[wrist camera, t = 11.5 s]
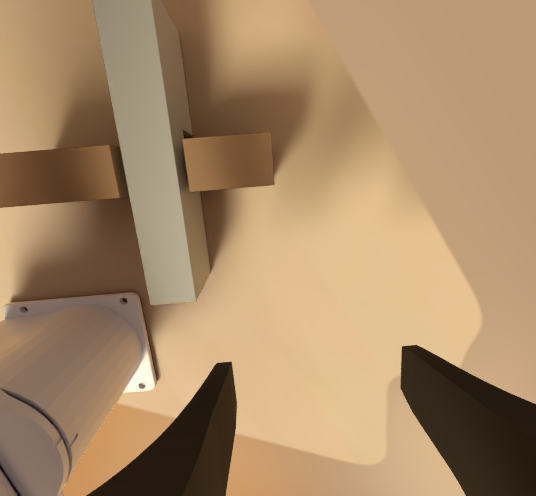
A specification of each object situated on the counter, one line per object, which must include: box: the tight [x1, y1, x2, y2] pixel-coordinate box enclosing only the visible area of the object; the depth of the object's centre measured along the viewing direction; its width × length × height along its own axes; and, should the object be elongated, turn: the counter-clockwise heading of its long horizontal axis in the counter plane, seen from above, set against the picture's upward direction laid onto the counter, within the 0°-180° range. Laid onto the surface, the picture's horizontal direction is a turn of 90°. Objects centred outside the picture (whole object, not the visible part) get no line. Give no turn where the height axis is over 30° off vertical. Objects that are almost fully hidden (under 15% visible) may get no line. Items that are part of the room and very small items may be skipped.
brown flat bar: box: [0, 132, 275, 208], centre depth 16 cm, size 14×2×5 cm, turn 95°
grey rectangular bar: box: [92, 0, 211, 305], centre depth 16 cm, size 15×2×5 cm, turn 5°
